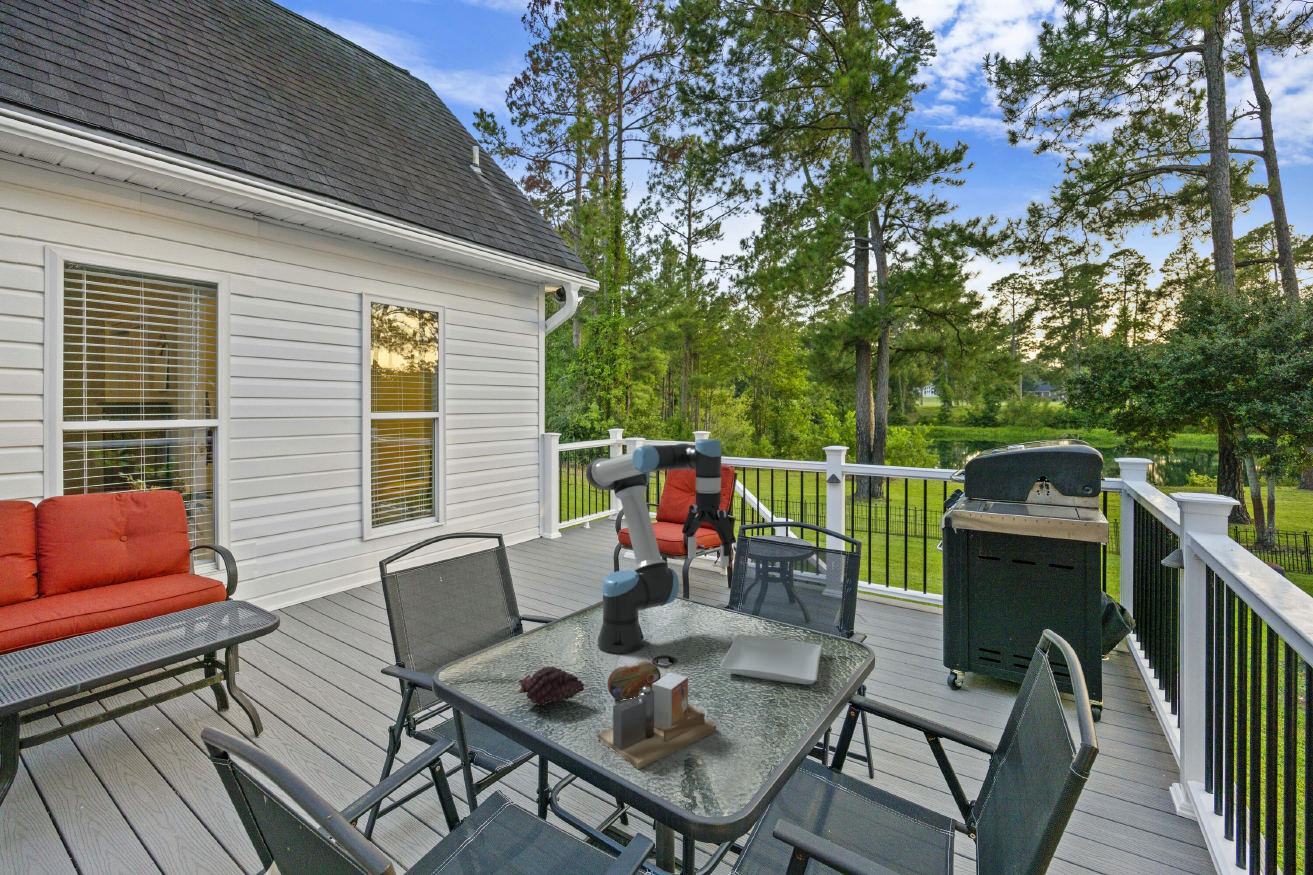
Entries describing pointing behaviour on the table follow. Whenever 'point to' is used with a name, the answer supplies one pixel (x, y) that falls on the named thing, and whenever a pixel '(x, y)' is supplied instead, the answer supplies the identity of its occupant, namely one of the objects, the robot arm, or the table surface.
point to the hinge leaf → (634, 720)
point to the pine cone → (550, 685)
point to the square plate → (773, 659)
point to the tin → (632, 680)
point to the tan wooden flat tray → (664, 739)
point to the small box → (670, 700)
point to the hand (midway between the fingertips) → (707, 562)
